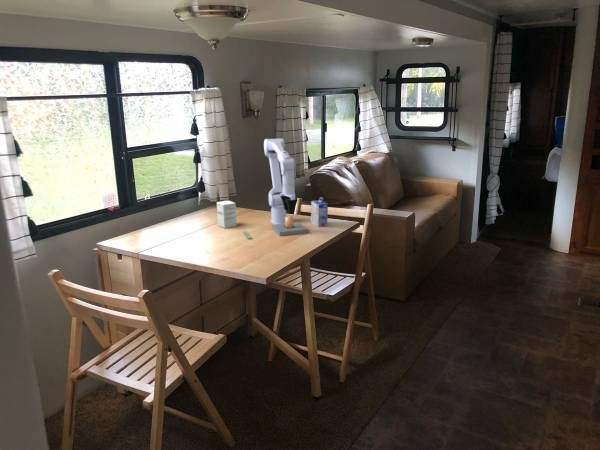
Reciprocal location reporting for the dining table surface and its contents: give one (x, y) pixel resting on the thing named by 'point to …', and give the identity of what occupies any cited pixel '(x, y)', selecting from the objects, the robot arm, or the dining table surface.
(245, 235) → the mat
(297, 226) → the grey socket board
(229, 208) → the supplement box
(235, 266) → the dining table surface
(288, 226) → the plug
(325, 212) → the ink cartridge box
